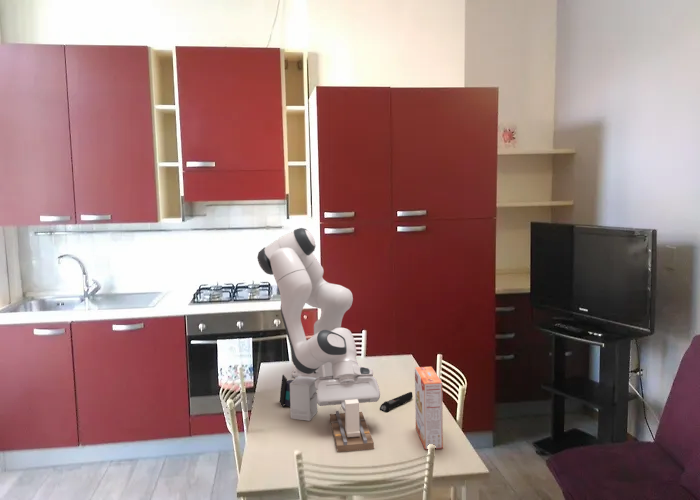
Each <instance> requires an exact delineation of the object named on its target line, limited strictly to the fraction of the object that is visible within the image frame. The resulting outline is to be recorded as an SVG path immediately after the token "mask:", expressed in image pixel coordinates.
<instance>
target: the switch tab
mask: <svg viewBox="0 0 700 500" xmlns="http://www.w3.org/2000/svg"><path fill="white" fill-rule="evenodd" d="M359 412H360V403H359V402H358V399H353V400H345V412H344V413H345V432H346V435H347V437H358V436H360V427H359Z"/></svg>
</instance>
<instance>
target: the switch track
mask: <svg viewBox="0 0 700 500" xmlns="http://www.w3.org/2000/svg"><path fill="white" fill-rule="evenodd" d="M329 422H330V426H331V430H332V435H333V439H334V443H335V448H336V451H337V453H342V452H353V451H354V452H355V451H366V450H367V451H368V450H374V449H375V445H374V444H375V441H374V439H373V437H372V435H371V432H370V429H369V427H368V426H369V425H368V424H367V421H366V418H365V416H364V414H363V411H359V427H360V436H358V437H347V435H346V432H345V412H343V413H342V412H341V413H340V411H339V410H335V413H330V414H329Z"/></svg>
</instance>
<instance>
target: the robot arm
mask: <svg viewBox="0 0 700 500" xmlns="http://www.w3.org/2000/svg"><path fill="white" fill-rule="evenodd" d="M316 246H317V245H316V242H315V238H314V236H313V234H312V233H311V232H309V230H307V229H306V228H303V227H299V228H296V229H293V231H291V232H289V233H287V234H284V235H282V236H280V237H279V238H278V239H276V240H274V241H273V242H271V243H270V244H269V245H267V246H266V247H263V248H261V249H260V250H259V251H258V254H257V258H256V259H257V261H258V265H259V267H260V268H261V270H262V271H263V272H264V273H265V274H267V275H270V276H272V275H273V277H274V279H275V282H276V285H277V287H278V291H279V295H280V313H281V318H282V322H283V325H284V329H285V332H286V336H287V340H288V343H289V346H290V351H291V352H290V353H291V360H292V364H293V365H294V370H293V371H292V372H291V377H292V378H295V379H296V378H297V377H298V376H299V377H312V378H317V379H316V380H315V388H316V389H317V406H320V407H323V406H324V407H325V406H335V405H340V406H341V409H342V410H343V411H344V412H343V413H345V400H353V399H358V402H359V404H360V403H361V404H363V403H374V402H375V403H377V402H378V401H379V400H380V397H381V391H380V386H379V383H378V380H377V379H376V378H375V376H374V370H373V369H372V368H370V367H365V366H361V365H359V363H358V360H357V354H358V353H357V352H358V351H357V347H356V342H355V337H354V335H353V334H352V332H351V330H350V329H348V328H345V327H342V321H343V318H344V315H345V314H346V312H347V311H348V310H350V308H351V307H352V304H353V301H354V298H353V297H354V296H353V293H352V291H351V290H350V289H349V288H347V287H345V286H343V285H341V284H336V283H331V282H328V281H326V280H325V279H324V278H323V276H324V272H325V271H324V267H323V266H322V265H321V263H320V261H319V260H318V259H317V258H316V257H315V254H314V252H315V250H316ZM305 305H308V306H310V307H312V308H316V309H320V310H321V313H320V317H319V319H317V320H316V321H315V322H314V323H313V335H312V336H311V337H310V338H308V339H307V337H306V333H305V329H304V327H303V324H302V319H301V318H302V317H301V315H302V312H303V310H304V307H305Z"/></svg>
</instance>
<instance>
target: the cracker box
mask: <svg viewBox="0 0 700 500" xmlns="http://www.w3.org/2000/svg"><path fill="white" fill-rule="evenodd" d="M414 387H415V389H414V391H415V392H414V393H415V394H414V395H415V397H414V399H415V402H414V403H415V404H414V405H415V406H414V407H415V429H416V431H417V435H418V437H419V439H420V441H421V444H422V447H423V449H424V450H425V451H426V450H428V449H427V446H428V445H429V444H433V445H435V446H436V449H435V450H437V449H439V450H440V449H441V450H442V449H443V447H444V441H443V440H444V439H443V437H444V436H443V435H444V434H443V433H444V431H443V430H444V428H443V423H444V422H443V417H444V415H443V412H444V411H443V382H442V380H441V379H440V377H439V375H438V374H437V373H436V371H435V370H434V368H433V366H416V367H414Z"/></svg>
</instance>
